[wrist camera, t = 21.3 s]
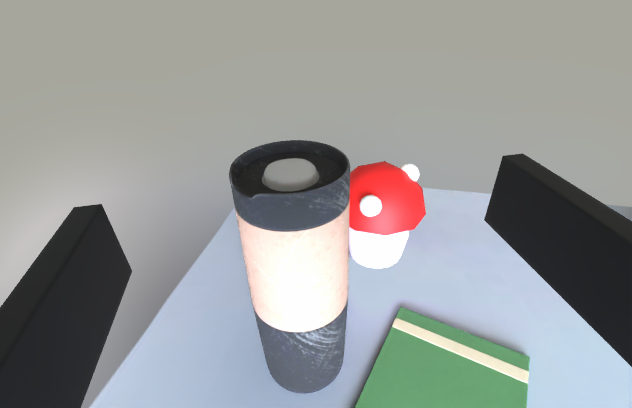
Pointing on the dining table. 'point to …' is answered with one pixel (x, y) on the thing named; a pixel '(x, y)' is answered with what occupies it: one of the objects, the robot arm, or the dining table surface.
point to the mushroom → (383, 212)
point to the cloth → (443, 369)
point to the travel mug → (296, 255)
